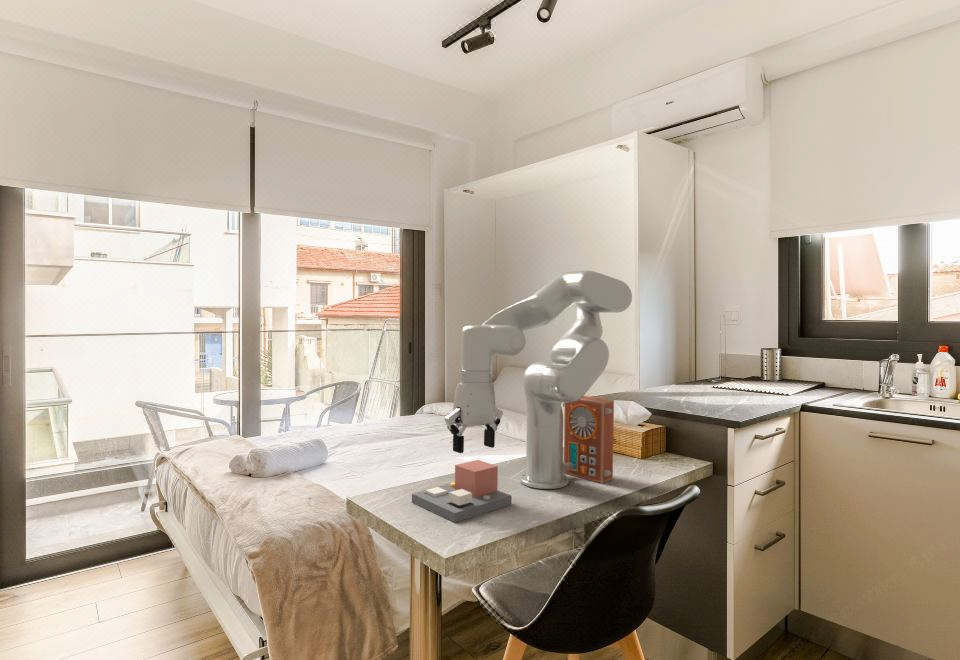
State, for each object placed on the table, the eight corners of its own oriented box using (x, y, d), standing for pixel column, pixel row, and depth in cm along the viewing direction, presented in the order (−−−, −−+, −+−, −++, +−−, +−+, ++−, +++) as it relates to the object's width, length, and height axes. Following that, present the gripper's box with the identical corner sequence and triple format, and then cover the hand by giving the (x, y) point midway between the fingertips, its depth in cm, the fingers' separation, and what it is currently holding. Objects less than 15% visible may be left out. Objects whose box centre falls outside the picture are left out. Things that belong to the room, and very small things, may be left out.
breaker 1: (437, 495, 131) (437, 486, 131) (447, 499, 128) (447, 490, 128) (425, 498, 128) (425, 490, 128) (434, 502, 126) (434, 494, 125)
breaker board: (467, 486, 139) (467, 476, 139) (511, 503, 127) (511, 492, 127) (411, 502, 128) (411, 491, 128) (454, 522, 116) (454, 510, 116)
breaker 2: (461, 497, 124) (461, 488, 124) (472, 501, 121) (472, 492, 121) (449, 501, 121) (449, 492, 121) (459, 505, 119) (459, 496, 119)
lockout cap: (477, 483, 135) (477, 459, 135) (497, 491, 130) (497, 466, 130) (454, 489, 131) (455, 465, 130) (474, 497, 125) (474, 471, 125)
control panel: (604, 485, 141) (558, 472, 152) (619, 479, 146) (573, 467, 157) (605, 403, 140) (559, 396, 151) (620, 400, 145) (574, 393, 156)
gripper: (492, 374, 138) (490, 441, 138) (437, 377, 126) (435, 451, 127) (513, 377, 132) (511, 447, 132) (457, 381, 121) (455, 458, 121)
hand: (474, 449), depth 130 cm, fingers open, 9 cm apart
